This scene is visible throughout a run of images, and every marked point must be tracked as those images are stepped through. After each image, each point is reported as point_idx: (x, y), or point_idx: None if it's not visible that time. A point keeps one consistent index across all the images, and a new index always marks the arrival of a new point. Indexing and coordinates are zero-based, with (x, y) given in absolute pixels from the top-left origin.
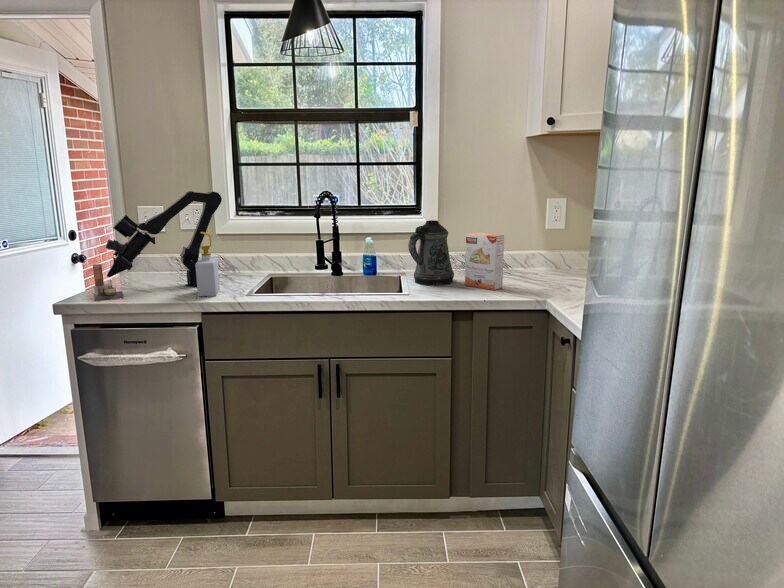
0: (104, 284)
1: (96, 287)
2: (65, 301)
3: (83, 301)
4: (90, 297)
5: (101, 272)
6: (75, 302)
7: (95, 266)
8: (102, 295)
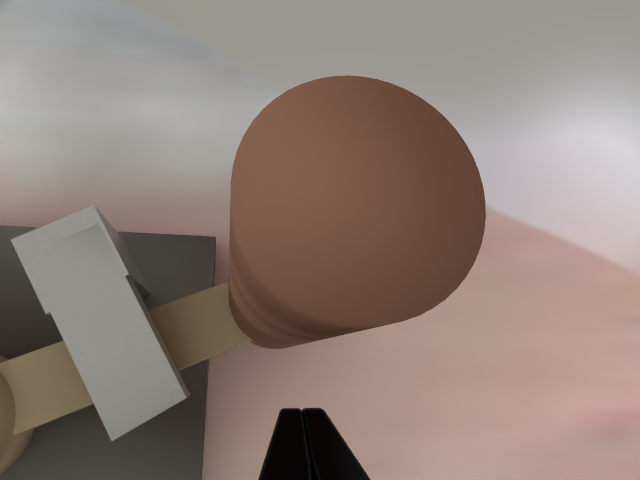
0: (144, 351)
1: (32, 237)
2: (127, 5)
3: (8, 132)
4: (186, 205)
5: (256, 315)
6: (10, 66)
7: (247, 148)
8: (43, 315)
